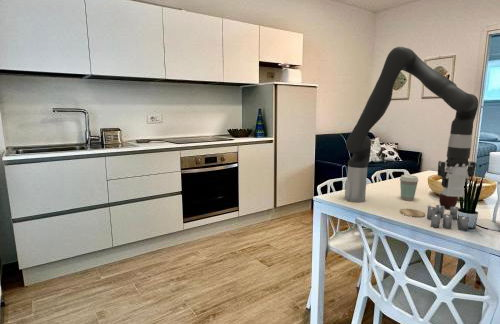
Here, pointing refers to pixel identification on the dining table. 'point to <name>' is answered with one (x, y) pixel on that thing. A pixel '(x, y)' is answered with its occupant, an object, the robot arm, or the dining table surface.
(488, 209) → the dining table surface
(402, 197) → the coffee cup
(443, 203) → the mate gourd
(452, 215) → the spacer field
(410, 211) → the coaster
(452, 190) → the skincare box
